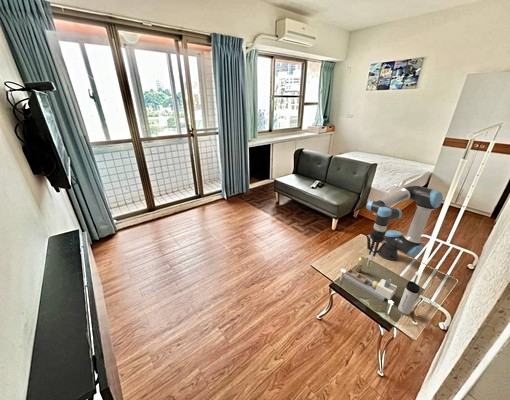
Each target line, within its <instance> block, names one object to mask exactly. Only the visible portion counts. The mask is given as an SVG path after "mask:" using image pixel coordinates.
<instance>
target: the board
mask: <svg viewBox="0 0 510 400" xmlns="http://www.w3.org/2000/svg"><path fill="white" fill-rule="evenodd" d="M343 277H344V278H345V280H346V281H348V282H349V283H352V284H353V285H355V286H356V287H358V288H359V289H362V290H363V291H365V292H366V293H368V294H370V295H372V296H374V297H375V298H377V299H379V300H381V301H382V302H384V301H385V300H386V298H385V297H383V296H381V295H380V294H378V293H376V292H375V289H376V286H377V284H378V283H379V282H380V281H377V280H372V279H370V278H369V277H367V276H365V275H363V274H362V273H358V272H356V270H355V269H352V268H349V269H348V270H346V271H345V273H344V274H343V275H342V278H343ZM344 278H343V279H344Z"/></svg>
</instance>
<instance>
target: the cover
mask: <svg viewBox="0 0 510 400" xmlns="http://www.w3.org/2000/svg"><path fill="white" fill-rule="evenodd" d="M378 282H379V283H378V284H377V286H376V289H375V292H376V293H378V294H380V295H381V296H383V297H385V299H387V300H389V301H390V300H391V299H392V298H393V296H394V295H395V293H396V291H397V287H398V286H397V285H395V284H393V283H391V282H392V279H391V278H389V277H388V278H387V279H384V278H381V279H380V281H378Z"/></svg>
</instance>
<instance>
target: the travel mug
mask: <svg viewBox="0 0 510 400" xmlns="http://www.w3.org/2000/svg"><path fill="white" fill-rule="evenodd" d="M420 290H421V287H420V286H419V285H418V284H417V283H415V282H414V281H412V280H410V281H408V282H407V283H406V286H405V288H404V290H403V293H402V296H401V299H400V302H399V304H398V307H397V310H398V312H400V313H401V314H402V315H404V316H410V314H411V312H412V309H413V307H414V305H415V302H416V300H417V297H418V295H419V292H420Z"/></svg>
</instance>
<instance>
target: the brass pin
mask: <svg viewBox="0 0 510 400" xmlns="http://www.w3.org/2000/svg"><path fill="white" fill-rule="evenodd" d="M357 261H358V262H357V265H356V268H355V271H358V272H361V273H362V269H363V266H364V262H365V257H364V256H359V257H358V260H357Z"/></svg>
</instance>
